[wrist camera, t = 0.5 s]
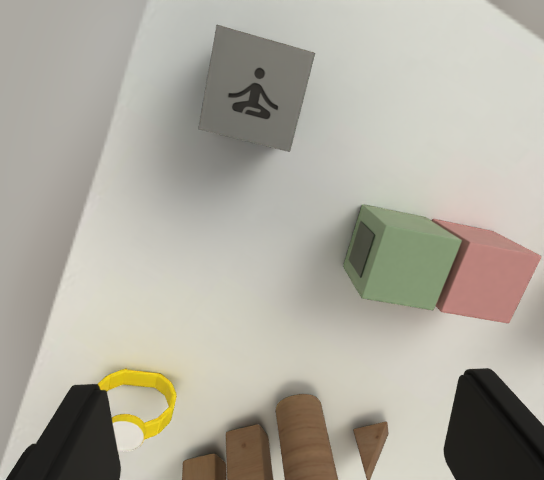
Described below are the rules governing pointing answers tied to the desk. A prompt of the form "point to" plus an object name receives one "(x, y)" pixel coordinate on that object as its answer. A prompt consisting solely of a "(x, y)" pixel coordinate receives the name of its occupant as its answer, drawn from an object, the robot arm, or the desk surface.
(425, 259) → the green cube
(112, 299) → the desk surface
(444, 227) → the plain pink block
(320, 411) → the wooden block set
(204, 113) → the dice cube
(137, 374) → the watch
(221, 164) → the desk surface
